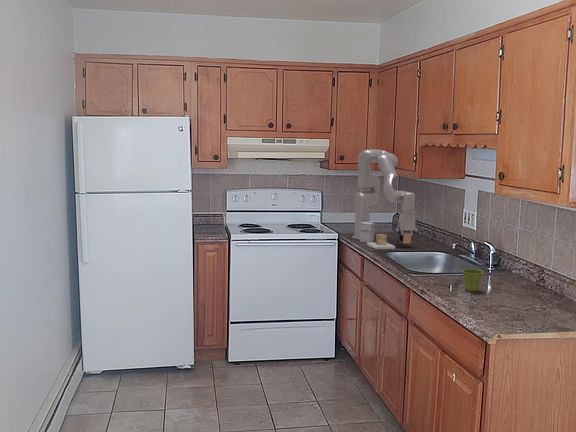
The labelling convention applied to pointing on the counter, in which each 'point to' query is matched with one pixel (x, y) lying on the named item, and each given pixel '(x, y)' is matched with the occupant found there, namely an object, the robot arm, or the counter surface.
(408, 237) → the terracotta block
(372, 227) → the supplement box
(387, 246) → the baseplate
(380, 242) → the oak block
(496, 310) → the counter surface
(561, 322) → the counter surface
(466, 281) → the plant pot
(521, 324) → the counter surface
